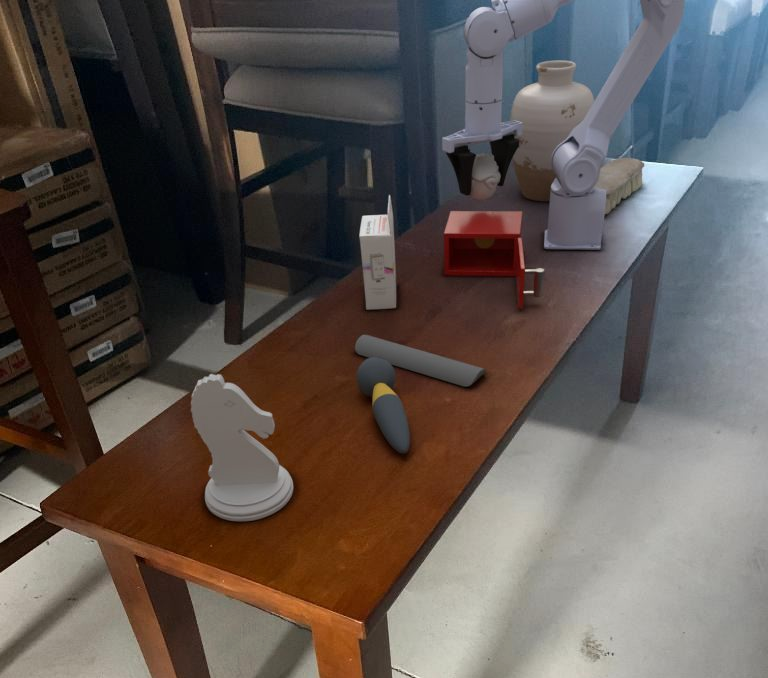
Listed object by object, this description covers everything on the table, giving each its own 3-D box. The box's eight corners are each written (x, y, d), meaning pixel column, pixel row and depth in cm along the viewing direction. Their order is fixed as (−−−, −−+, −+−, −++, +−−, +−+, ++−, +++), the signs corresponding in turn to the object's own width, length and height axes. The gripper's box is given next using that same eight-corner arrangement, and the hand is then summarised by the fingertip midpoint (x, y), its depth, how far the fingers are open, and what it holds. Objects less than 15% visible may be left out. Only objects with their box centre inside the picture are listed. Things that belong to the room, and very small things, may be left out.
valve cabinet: (520, 252, 133) (522, 211, 128) (517, 276, 125) (519, 233, 121) (450, 251, 135) (450, 211, 130) (444, 275, 127) (443, 233, 123)
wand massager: (435, 453, 90) (434, 417, 86) (394, 463, 89) (392, 427, 86) (385, 373, 104) (382, 340, 101) (349, 381, 103) (346, 347, 100)
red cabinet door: (515, 275, 125) (517, 237, 121) (538, 275, 124) (541, 237, 120) (518, 308, 116) (520, 268, 112) (542, 308, 115) (546, 268, 111)
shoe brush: (603, 222, 141) (607, 194, 138) (565, 216, 144) (568, 189, 141) (648, 183, 156) (652, 156, 152) (612, 178, 159) (615, 152, 156)
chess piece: (289, 519, 82) (267, 399, 72) (198, 524, 83) (164, 405, 73) (297, 464, 90) (278, 348, 80) (213, 468, 90) (184, 354, 80)
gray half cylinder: (472, 390, 100) (472, 378, 99) (352, 353, 109) (351, 342, 108) (488, 375, 102) (488, 363, 101) (370, 341, 112) (369, 329, 110)
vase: (490, 197, 155) (494, 68, 140) (536, 176, 163) (544, 52, 148) (558, 212, 146) (569, 77, 131) (602, 189, 154) (618, 59, 140)
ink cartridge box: (366, 287, 126) (359, 194, 116) (397, 285, 125) (392, 192, 116) (364, 310, 119) (356, 214, 110) (396, 309, 119) (391, 213, 109)
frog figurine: (501, 192, 132) (503, 148, 128) (497, 206, 127) (499, 161, 123) (466, 191, 133) (466, 149, 129) (460, 206, 128) (461, 161, 124)
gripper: (460, 112, 115) (460, 205, 124) (536, 95, 120) (530, 185, 129) (434, 104, 120) (435, 194, 129) (508, 88, 125) (504, 175, 134)
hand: (481, 189), depth 129 cm, fingers closed on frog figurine, 6 cm apart
